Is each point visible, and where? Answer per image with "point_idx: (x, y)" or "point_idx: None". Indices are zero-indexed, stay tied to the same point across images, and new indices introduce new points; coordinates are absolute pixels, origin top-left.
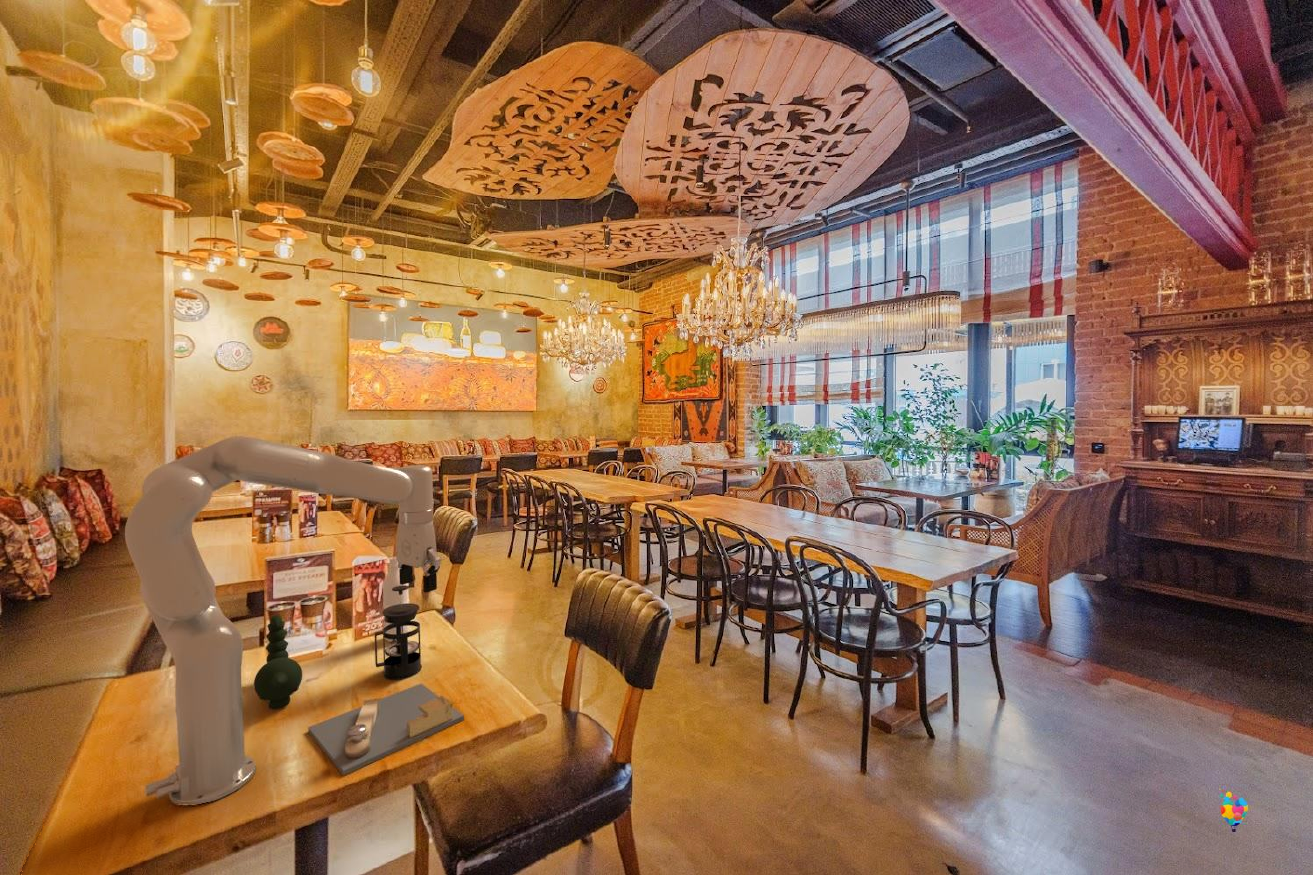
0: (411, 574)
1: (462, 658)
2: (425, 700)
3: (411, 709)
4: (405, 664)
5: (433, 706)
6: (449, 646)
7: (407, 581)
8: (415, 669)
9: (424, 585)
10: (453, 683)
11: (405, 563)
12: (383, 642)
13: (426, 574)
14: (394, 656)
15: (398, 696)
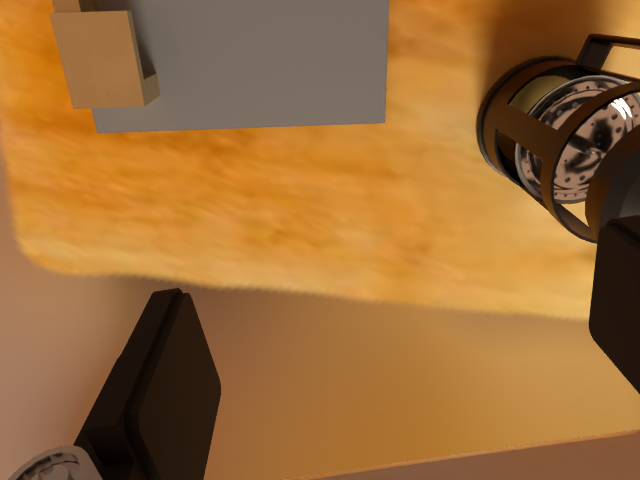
0: (636, 375)
1: (451, 283)
2: (265, 85)
3: (241, 24)
4: (500, 119)
5: (87, 49)
6: (557, 291)
7: (602, 290)
8: (486, 147)
9: (133, 336)
10: (328, 200)
11: (547, 462)
12: (637, 78)
13: (58, 473)
14: (546, 94)
15: (358, 27)
